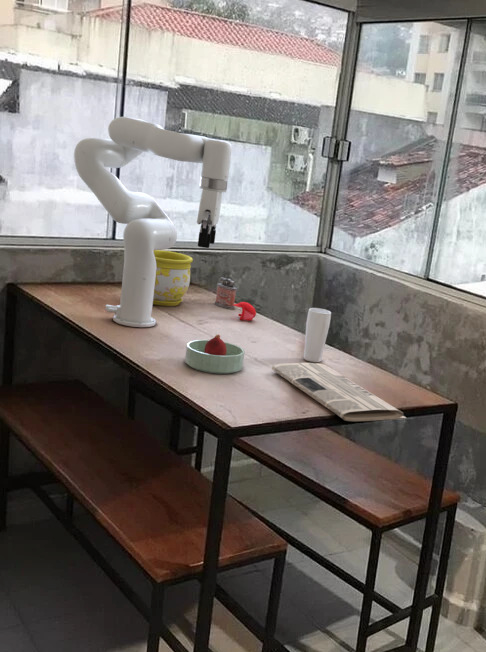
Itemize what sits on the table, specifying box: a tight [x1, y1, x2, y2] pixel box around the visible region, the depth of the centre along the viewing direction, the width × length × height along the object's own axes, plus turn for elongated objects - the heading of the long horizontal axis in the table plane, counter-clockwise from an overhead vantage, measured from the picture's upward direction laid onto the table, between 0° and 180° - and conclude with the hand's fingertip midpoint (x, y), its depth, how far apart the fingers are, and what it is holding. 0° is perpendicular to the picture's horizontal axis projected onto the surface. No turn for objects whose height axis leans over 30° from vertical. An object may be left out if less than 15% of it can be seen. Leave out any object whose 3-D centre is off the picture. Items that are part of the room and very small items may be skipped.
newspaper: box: [271, 362, 409, 422], centre depth 208 cm, size 37×19×3 cm, turn 31°
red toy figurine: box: [234, 301, 257, 322], centre depth 273 cm, size 8×6×6 cm
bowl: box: [184, 339, 246, 375], centre depth 215 cm, size 15×15×5 cm
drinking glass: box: [303, 307, 332, 363], centre depth 236 cm, size 7×7×15 cm
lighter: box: [214, 276, 238, 310], centre depth 288 cm, size 8×3×10 cm, turn 58°
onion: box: [204, 333, 227, 356], centre depth 215 cm, size 6×6×8 cm
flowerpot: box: [153, 250, 194, 307], centre depth 278 cm, size 18×18×16 cm
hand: (206, 245), depth 231 cm, fingers open, 9 cm apart
